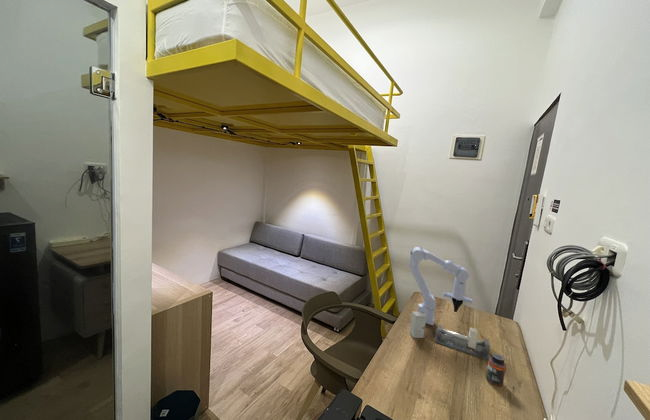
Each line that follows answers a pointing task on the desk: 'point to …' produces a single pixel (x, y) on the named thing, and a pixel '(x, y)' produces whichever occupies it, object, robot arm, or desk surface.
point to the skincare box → (417, 324)
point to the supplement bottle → (496, 370)
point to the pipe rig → (462, 343)
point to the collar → (472, 338)
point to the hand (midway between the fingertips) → (455, 311)
